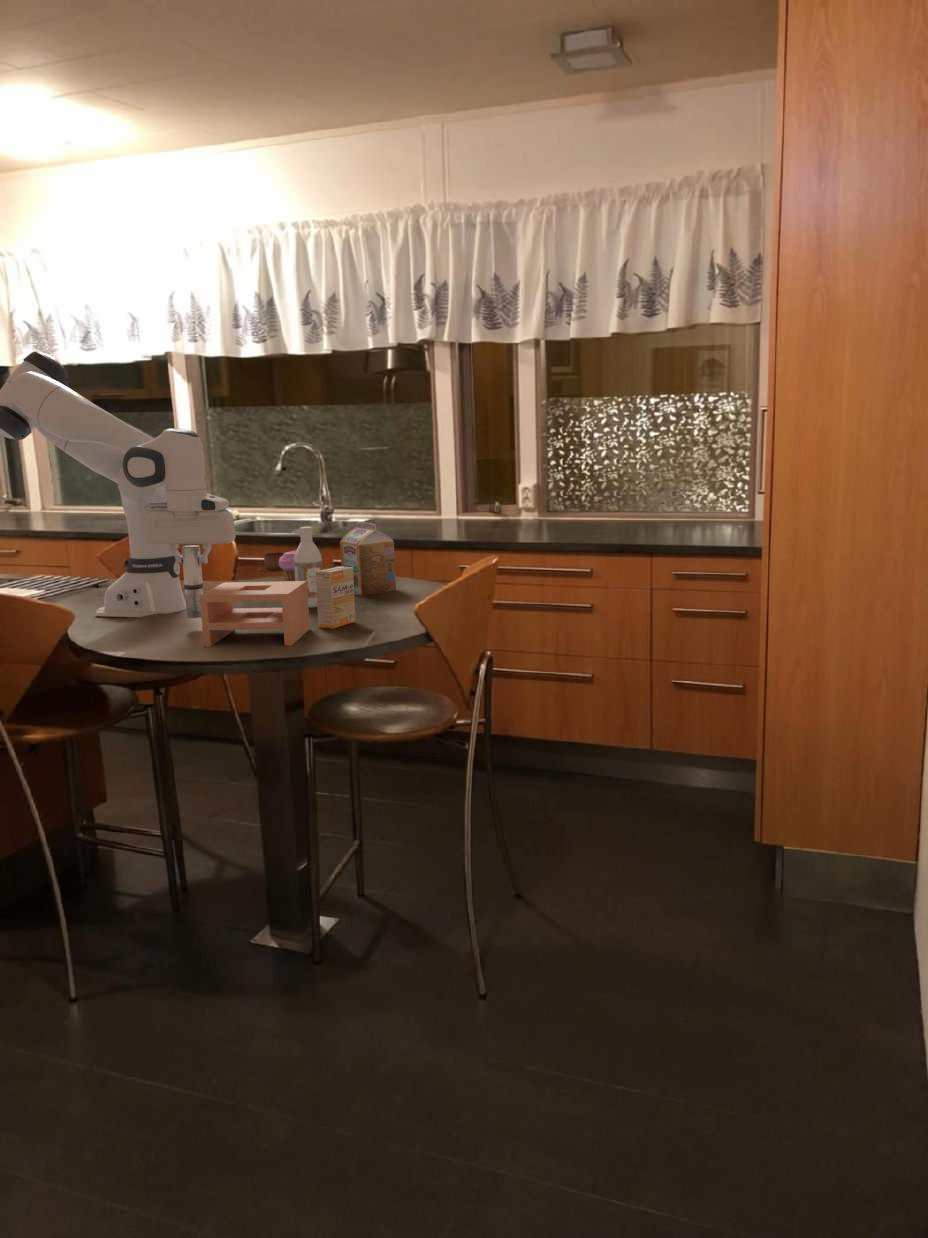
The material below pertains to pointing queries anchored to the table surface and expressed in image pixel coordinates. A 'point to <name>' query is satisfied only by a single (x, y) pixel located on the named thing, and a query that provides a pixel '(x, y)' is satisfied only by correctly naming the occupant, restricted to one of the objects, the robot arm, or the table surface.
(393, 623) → the table surface
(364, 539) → the milk carton
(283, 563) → the cupcake
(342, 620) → the supplement box
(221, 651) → the table surface
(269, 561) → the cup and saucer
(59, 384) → the robot arm
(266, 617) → the collar frame
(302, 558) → the bath foam
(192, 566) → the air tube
